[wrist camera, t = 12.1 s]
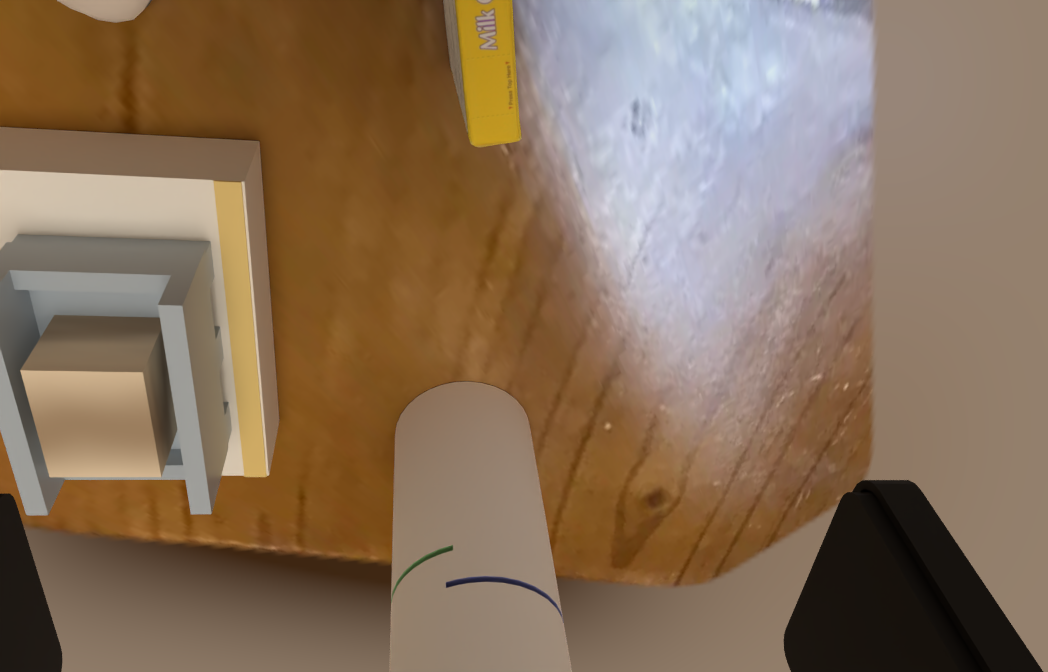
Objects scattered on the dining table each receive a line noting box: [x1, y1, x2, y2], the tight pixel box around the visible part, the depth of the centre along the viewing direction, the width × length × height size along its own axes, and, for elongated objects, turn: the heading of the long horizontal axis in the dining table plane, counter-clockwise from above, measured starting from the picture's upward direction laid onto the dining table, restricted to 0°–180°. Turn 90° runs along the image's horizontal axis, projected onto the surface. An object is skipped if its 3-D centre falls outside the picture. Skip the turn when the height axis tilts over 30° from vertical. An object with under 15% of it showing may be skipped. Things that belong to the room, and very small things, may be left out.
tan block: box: [20, 315, 177, 477], centre depth 33 cm, size 5×4×4 cm
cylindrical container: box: [390, 382, 572, 672], centre depth 36 cm, size 7×7×25 cm
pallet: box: [0, 234, 232, 515], centre depth 34 cm, size 10×7×5 cm
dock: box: [0, 127, 279, 477], centre depth 38 cm, size 15×10×4 cm, turn 174°
